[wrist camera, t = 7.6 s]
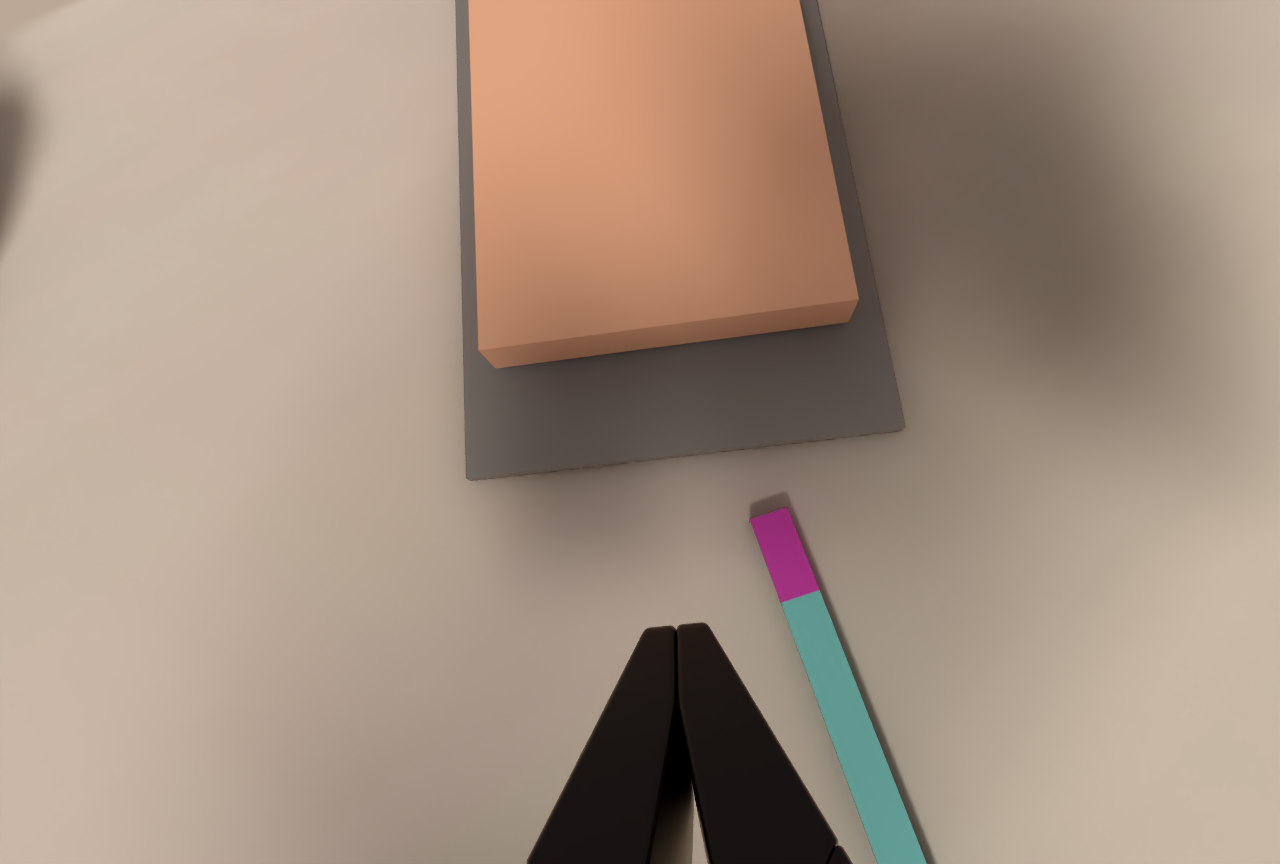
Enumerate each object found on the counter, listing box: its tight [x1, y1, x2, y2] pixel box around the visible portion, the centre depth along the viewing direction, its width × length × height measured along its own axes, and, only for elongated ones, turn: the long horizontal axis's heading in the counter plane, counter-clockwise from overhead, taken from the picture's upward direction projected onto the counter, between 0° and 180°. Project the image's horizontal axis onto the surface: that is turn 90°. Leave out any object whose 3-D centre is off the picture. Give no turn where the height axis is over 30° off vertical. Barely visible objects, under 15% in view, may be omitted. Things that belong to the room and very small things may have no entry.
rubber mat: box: [455, 0, 905, 481], centre depth 21 cm, size 18×12×1 cm, turn 5°
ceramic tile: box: [468, 0, 859, 369], centre depth 20 cm, size 2×10×12 cm
